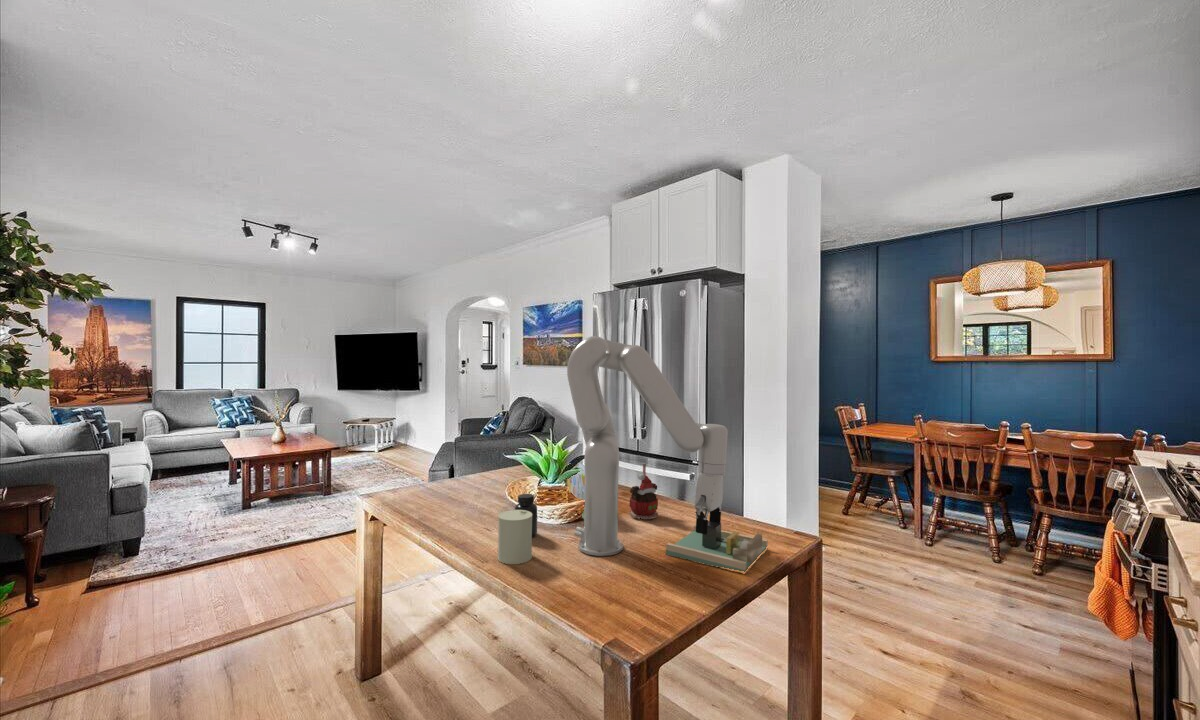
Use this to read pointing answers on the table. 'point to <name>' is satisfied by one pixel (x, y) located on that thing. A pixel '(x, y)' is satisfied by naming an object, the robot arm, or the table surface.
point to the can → (515, 536)
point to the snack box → (578, 484)
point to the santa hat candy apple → (644, 498)
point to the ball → (743, 545)
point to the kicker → (719, 538)
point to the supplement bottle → (528, 509)
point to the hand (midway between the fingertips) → (708, 528)
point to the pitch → (709, 551)
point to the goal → (749, 549)
